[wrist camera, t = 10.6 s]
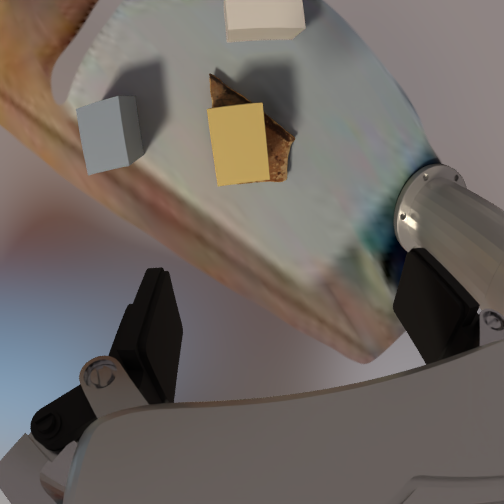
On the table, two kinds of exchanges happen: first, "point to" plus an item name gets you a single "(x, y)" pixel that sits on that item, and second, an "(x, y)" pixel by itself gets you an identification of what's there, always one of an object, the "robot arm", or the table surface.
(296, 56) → the table surface
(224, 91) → the shard
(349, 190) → the table surface
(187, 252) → the table surface
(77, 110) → the slate brick
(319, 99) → the table surface
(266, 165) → the mustard brick
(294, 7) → the cream brick
